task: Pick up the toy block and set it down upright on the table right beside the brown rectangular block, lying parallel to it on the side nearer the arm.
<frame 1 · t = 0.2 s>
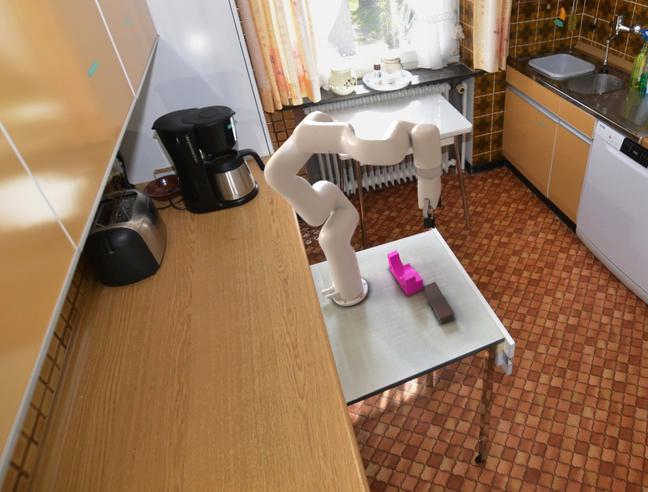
hand: (433, 216, 128), 37 cm above the table, tool pointing down, fingers open, 9 cm apart
brown rectangular block: (438, 304, 147), on the table
toy block: (406, 278, 158), on the table
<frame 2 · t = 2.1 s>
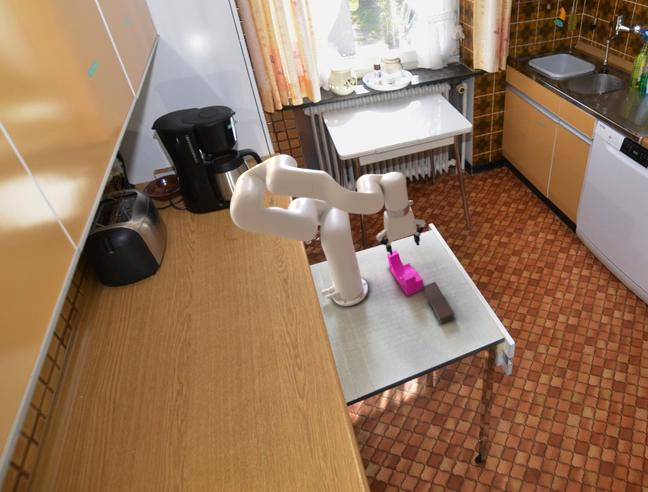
hand: (403, 247, 150), 15 cm above the table, tool pointing down, fingers open, 9 cm apart
nothing on the table moved.
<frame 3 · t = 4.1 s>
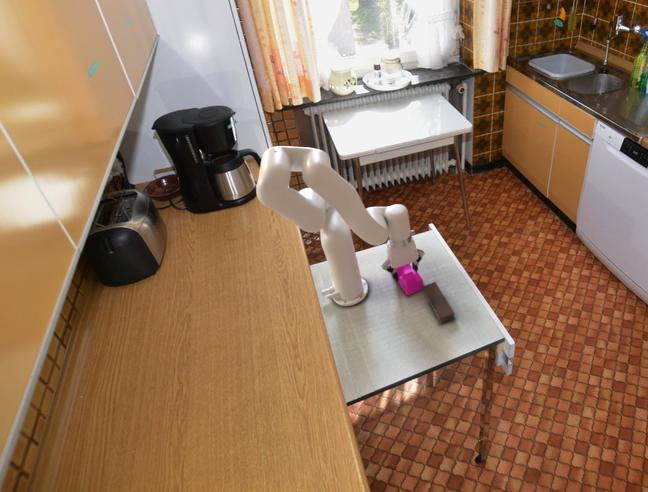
hand: (405, 274, 157), 2 cm above the table, tool pointing down, fingers closed on toy block, 6 cm apart
toy block: (406, 278, 159), on the table, touching gripper
everything else where it was.
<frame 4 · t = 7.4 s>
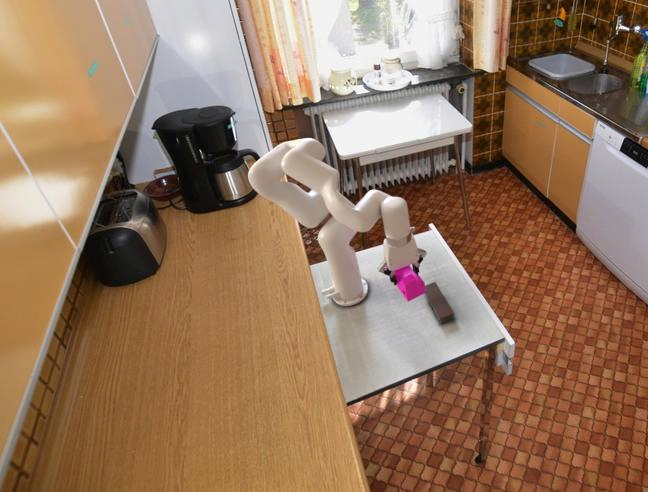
hand: (405, 278, 138), 15 cm above the table, tool pointing down, fingers closed on toy block, 6 cm apart
toy block: (405, 282, 139), point 13 cm above the table, touching gripper
everything else where it was.
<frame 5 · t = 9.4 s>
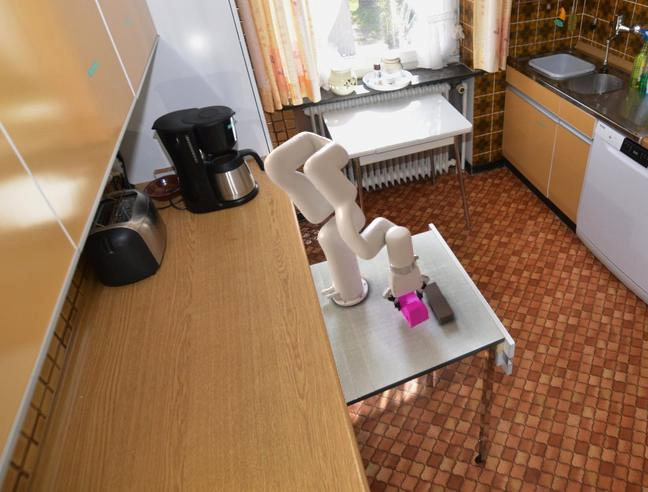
hand: (408, 303, 141), 6 cm above the table, tool pointing down, fingers closed on toy block, 6 cm apart
toy block: (409, 307, 142), point 4 cm above the table, touching gripper
everything else where it was.
when the fingers open (2 cm above the table, at t = 11.0 s): toy block stays where it is, on the table.
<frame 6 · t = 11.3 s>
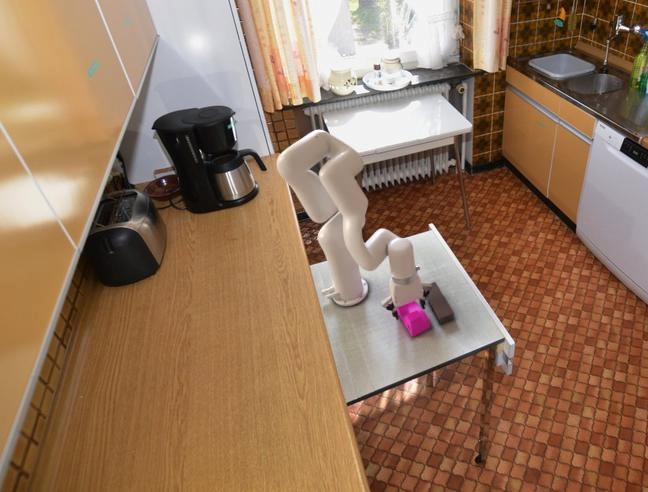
hand: (409, 311, 143), 2 cm above the table, tool pointing down, fingers open, 8 cm apart
toy block: (410, 316, 144), on the table
everything else where it was.
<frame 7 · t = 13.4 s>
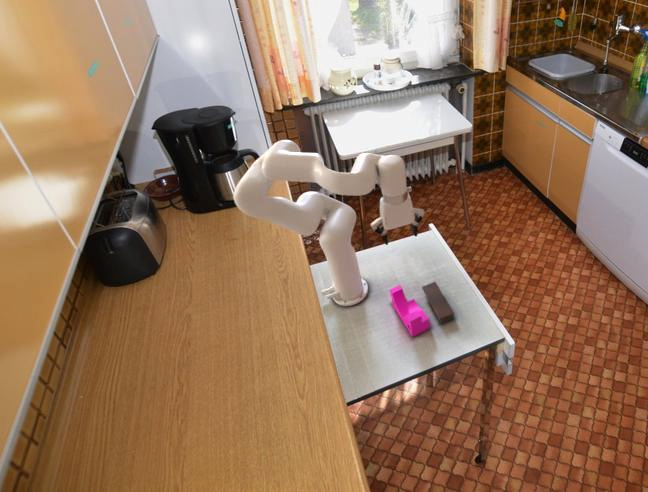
hand: (400, 237, 139), 25 cm above the table, tool pointing down, fingers open, 9 cm apart
nothing on the table moved.
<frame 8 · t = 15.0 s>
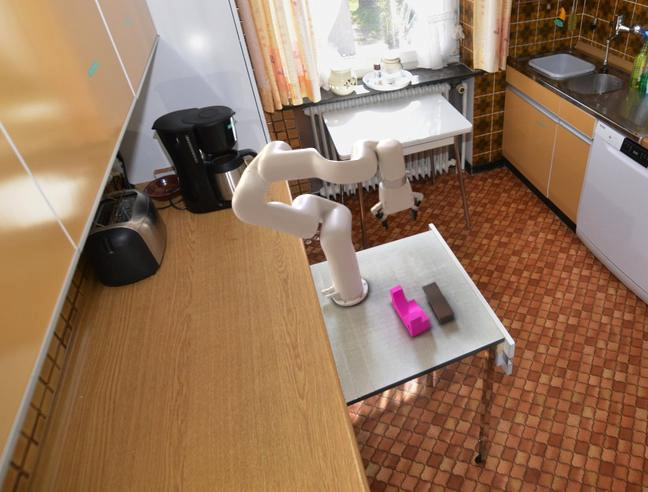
hand: (400, 222, 141), 28 cm above the table, tool pointing down, fingers open, 9 cm apart
nothing on the table moved.
at the end: toy block 0.1 cm from the target spot on the table beside the brown rectangular block, on the table; toy block tilted 0°; brown rectangular block moved 0.0 cm from its start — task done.
